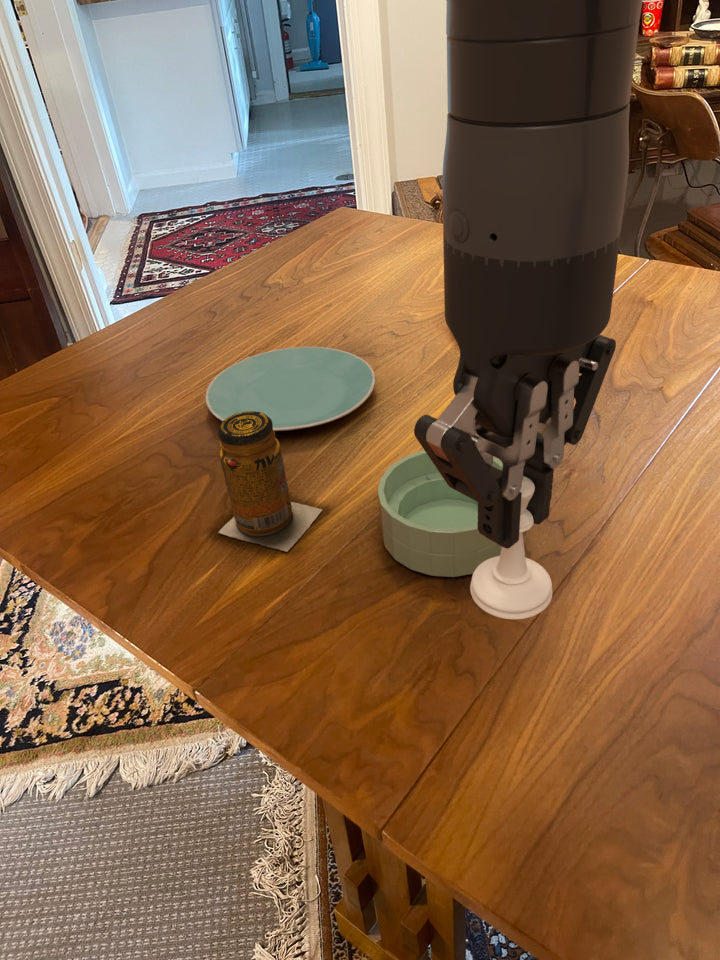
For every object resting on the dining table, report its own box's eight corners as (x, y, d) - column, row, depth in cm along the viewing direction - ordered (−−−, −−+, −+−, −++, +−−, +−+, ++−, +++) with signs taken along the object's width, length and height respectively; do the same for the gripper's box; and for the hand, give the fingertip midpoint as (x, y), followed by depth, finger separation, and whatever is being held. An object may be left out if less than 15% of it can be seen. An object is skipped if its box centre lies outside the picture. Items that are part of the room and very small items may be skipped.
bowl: (533, 511, 75) (537, 463, 71) (489, 597, 66) (490, 547, 62) (415, 482, 80) (413, 436, 77) (359, 559, 71) (353, 511, 68)
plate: (273, 351, 109) (270, 334, 107) (406, 378, 99) (405, 359, 98) (174, 426, 94) (168, 407, 93) (318, 466, 84) (315, 445, 83)
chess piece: (459, 607, 44) (458, 473, 38) (484, 554, 48) (486, 424, 42) (540, 629, 42) (553, 492, 36) (560, 572, 46) (574, 439, 40)
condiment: (256, 493, 81) (235, 400, 74) (322, 510, 78) (308, 414, 71) (218, 534, 76) (192, 438, 69) (287, 554, 73) (267, 455, 66)
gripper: (496, 295, 26) (487, 629, 36) (694, 193, 33) (639, 497, 43) (353, 252, 30) (382, 559, 41) (553, 172, 37) (534, 450, 48)
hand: (514, 526), depth 42 cm, fingers closed on chess piece
